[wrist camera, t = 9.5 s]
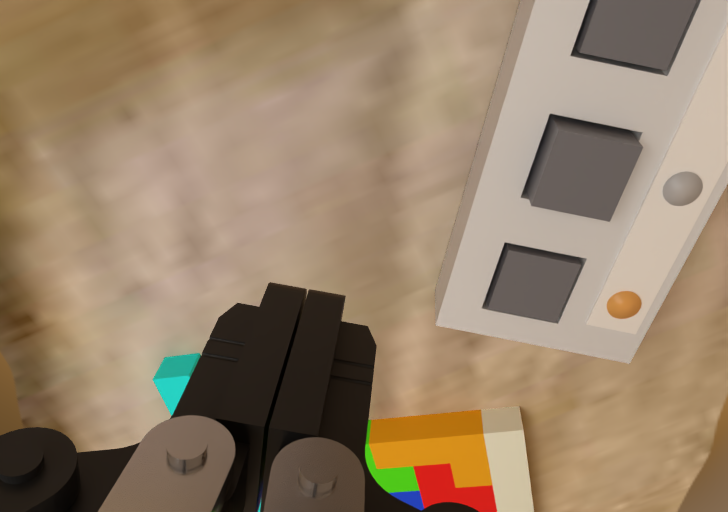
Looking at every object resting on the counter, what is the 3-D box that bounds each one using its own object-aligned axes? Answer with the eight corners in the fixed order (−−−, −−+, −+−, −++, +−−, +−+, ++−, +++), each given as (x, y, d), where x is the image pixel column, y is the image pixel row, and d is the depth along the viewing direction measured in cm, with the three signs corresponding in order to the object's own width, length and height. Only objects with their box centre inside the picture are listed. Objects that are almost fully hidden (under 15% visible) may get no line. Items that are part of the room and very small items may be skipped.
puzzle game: (539, 558, 59) (506, 311, 44) (544, 589, 57) (511, 337, 42) (248, 573, 65) (133, 358, 50) (240, 601, 62) (117, 383, 48)
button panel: (554, -117, 30) (572, -117, 27) (810, -63, 30) (862, -55, 27) (434, 290, 43) (435, 328, 40) (613, 325, 44) (631, 367, 40)
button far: (503, 227, 39) (508, 250, 36) (572, 241, 39) (581, 264, 36) (484, 284, 41) (487, 308, 39) (548, 296, 41) (556, 322, 39)
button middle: (549, 112, 33) (558, 129, 31) (627, 128, 34) (643, 147, 31) (524, 184, 36) (531, 205, 33) (597, 199, 36) (609, 221, 33)
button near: (599, -51, 30) (614, -46, 28) (686, -33, 30) (708, -26, 28) (568, 40, 33) (579, 52, 30) (649, 56, 33) (666, 70, 30)
